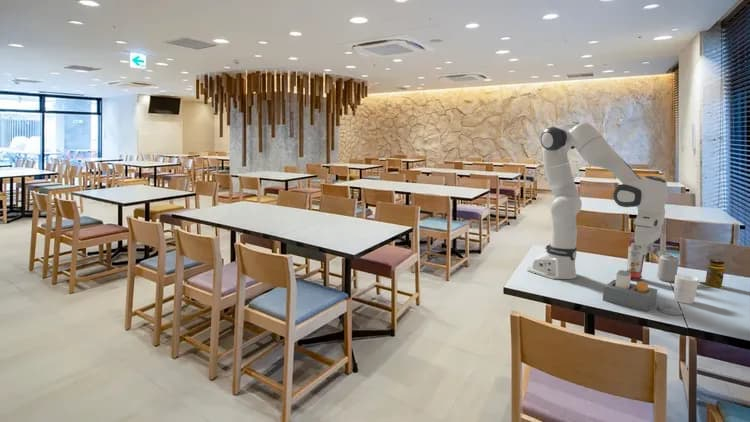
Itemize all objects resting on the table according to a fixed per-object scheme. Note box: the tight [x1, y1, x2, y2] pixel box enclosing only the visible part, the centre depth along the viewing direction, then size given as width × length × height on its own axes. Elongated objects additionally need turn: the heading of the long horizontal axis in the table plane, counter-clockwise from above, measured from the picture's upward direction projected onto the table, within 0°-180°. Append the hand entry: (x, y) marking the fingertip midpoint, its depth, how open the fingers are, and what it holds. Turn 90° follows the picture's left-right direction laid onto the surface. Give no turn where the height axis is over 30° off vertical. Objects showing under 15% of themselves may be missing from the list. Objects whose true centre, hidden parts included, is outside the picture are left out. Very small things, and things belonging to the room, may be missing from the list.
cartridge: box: [615, 269, 631, 290], centre depth 179 cm, size 5×5×12 cm
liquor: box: [626, 235, 646, 281], centre depth 204 cm, size 7×7×28 cm
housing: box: [602, 279, 658, 312], centre depth 177 cm, size 16×12×6 cm
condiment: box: [698, 258, 726, 290], centre depth 198 cm, size 7×8×12 cm
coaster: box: [657, 305, 683, 316], centre depth 169 cm, size 8×8×1 cm
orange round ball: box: [636, 280, 649, 293], centre depth 174 cm, size 4×4×4 cm
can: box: [656, 253, 680, 283], centre depth 205 cm, size 8×8×12 cm
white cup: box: [673, 274, 700, 305], centre depth 179 cm, size 8×8×10 cm
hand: (646, 253), depth 171 cm, fingers open, 4 cm apart
